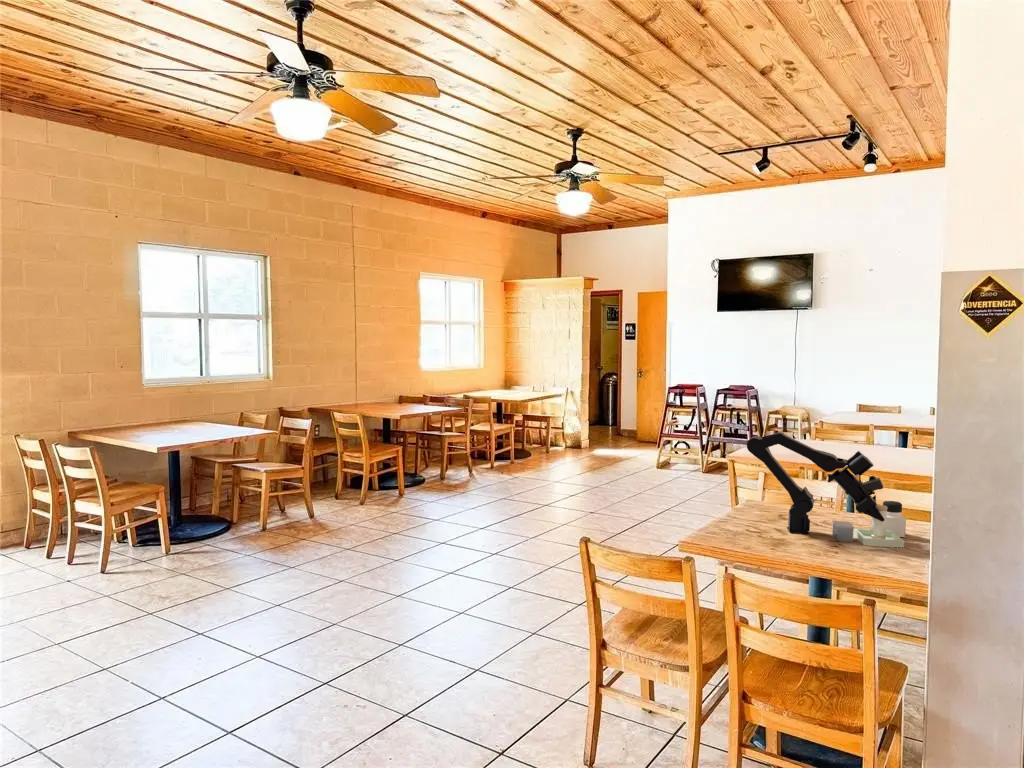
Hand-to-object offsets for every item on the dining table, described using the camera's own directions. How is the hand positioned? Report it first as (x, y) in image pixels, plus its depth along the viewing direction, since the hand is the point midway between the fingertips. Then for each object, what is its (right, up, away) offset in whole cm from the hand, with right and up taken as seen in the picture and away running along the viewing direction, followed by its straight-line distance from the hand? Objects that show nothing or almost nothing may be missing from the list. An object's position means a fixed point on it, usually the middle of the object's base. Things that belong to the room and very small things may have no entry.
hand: (883, 519), depth 245 cm
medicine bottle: (+8, -8, +10) cm, 15 cm away
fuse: (-1, -7, +1) cm, 7 cm away
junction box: (-13, -8, +4) cm, 15 cm away
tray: (-1, -8, +1) cm, 8 cm away
